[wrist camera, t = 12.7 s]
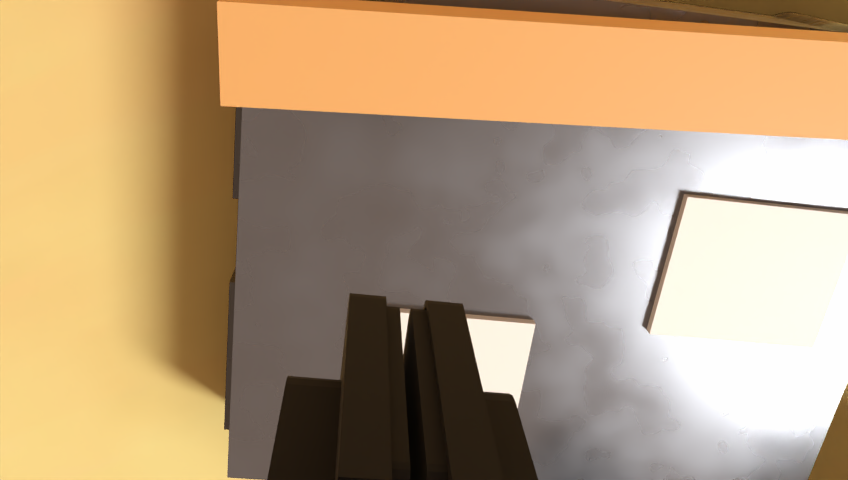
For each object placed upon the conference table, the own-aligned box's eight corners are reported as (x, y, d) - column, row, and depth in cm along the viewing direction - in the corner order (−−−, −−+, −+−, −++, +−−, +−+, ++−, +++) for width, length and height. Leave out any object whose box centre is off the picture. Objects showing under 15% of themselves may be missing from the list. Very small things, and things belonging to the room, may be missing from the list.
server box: (899, 27, 27) (1023, 52, 22) (748, 447, 34) (815, 540, 28) (257, -61, 24) (227, -57, 19) (237, 411, 31) (210, 506, 26)
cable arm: (966, 17, 21) (1051, 31, 18) (924, 144, 22) (996, 174, 20) (233, -34, 19) (212, -26, 17) (237, 107, 20) (218, 134, 18)
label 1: (533, 320, 26) (535, 324, 25) (508, 440, 28) (509, 445, 27) (357, 304, 25) (357, 308, 25) (343, 428, 27) (343, 433, 27)
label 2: (857, 212, 25) (863, 216, 25) (808, 343, 27) (813, 348, 26) (684, 193, 24) (687, 196, 24) (646, 329, 26) (649, 334, 26)
